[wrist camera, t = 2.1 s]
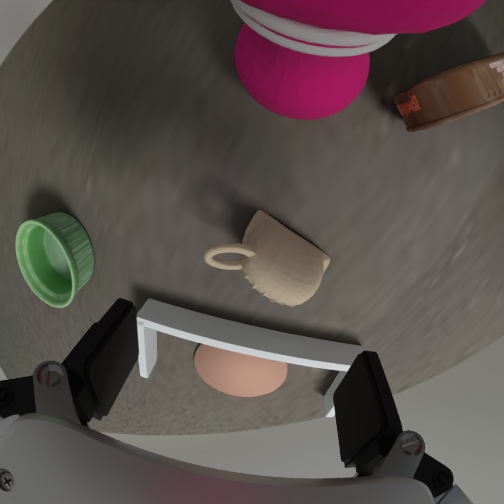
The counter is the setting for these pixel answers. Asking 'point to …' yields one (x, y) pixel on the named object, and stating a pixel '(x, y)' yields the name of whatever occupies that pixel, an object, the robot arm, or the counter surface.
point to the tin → (453, 93)
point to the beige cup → (275, 261)
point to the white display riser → (240, 342)
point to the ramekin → (55, 257)
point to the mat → (238, 371)
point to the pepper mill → (324, 47)
